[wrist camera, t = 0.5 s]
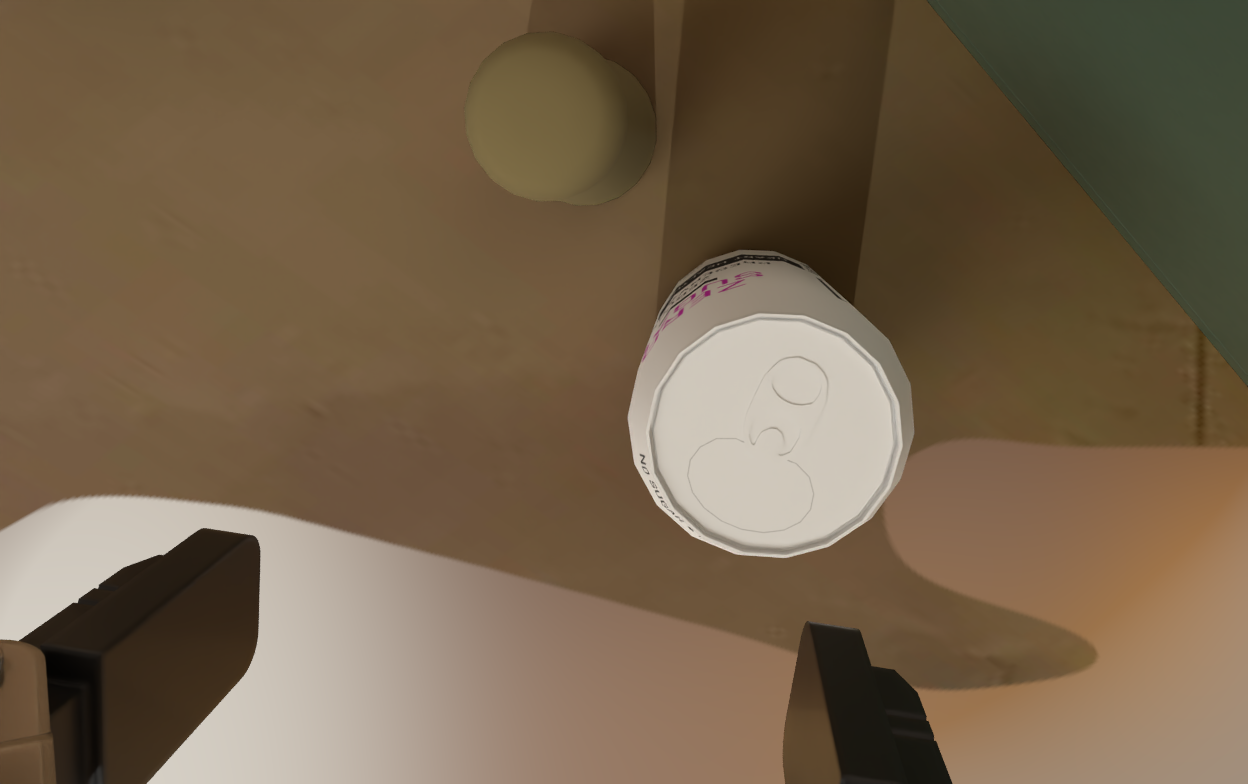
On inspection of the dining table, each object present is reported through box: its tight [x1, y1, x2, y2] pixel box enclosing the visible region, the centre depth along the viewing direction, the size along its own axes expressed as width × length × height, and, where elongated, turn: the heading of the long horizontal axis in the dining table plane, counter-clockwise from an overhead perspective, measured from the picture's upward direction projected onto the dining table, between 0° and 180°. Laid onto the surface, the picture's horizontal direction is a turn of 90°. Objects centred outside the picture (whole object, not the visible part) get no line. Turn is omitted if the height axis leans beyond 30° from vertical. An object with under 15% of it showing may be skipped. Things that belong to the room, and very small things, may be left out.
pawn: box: [464, 32, 656, 206], centre depth 34 cm, size 6×6×11 cm
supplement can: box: [628, 250, 914, 558], centre depth 33 cm, size 8×8×15 cm
